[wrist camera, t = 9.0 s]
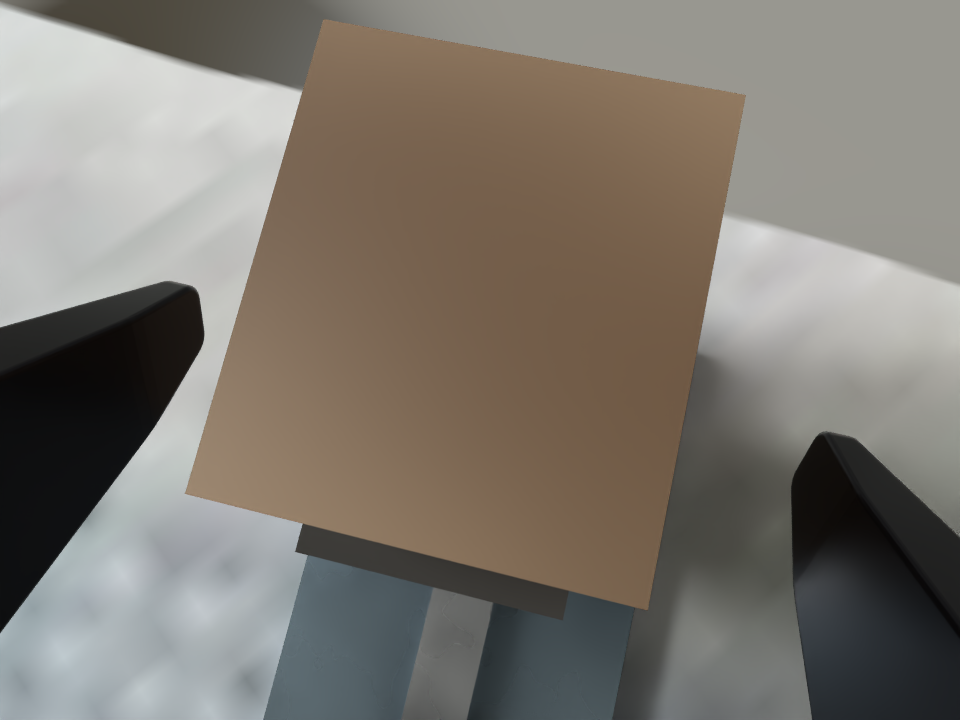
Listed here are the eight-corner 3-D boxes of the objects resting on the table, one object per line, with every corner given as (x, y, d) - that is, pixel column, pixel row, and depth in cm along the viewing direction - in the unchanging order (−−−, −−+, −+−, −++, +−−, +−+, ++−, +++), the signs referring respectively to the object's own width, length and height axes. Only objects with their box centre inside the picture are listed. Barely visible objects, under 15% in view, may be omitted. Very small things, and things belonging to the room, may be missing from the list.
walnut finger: (547, 525, 18) (630, 699, 5) (424, 494, 19) (160, 574, 5) (582, 363, 19) (744, 95, 5) (462, 337, 19) (323, 18, 6)
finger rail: (548, 988, 18) (568, 1335, 11) (229, 887, 19) (50, 1147, 11) (678, 346, 20) (764, 281, 13) (392, 282, 21) (327, 188, 14)
